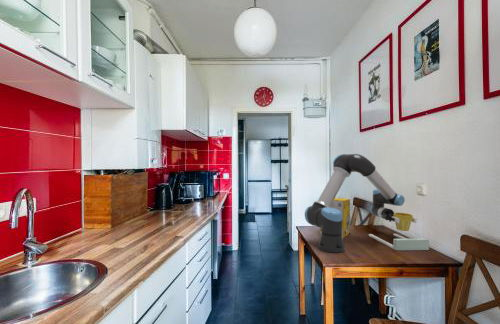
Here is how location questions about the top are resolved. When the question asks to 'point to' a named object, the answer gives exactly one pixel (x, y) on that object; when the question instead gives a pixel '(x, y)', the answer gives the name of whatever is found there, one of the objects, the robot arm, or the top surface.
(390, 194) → the robot arm
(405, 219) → the plant pot
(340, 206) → the packaging box
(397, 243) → the guide track
